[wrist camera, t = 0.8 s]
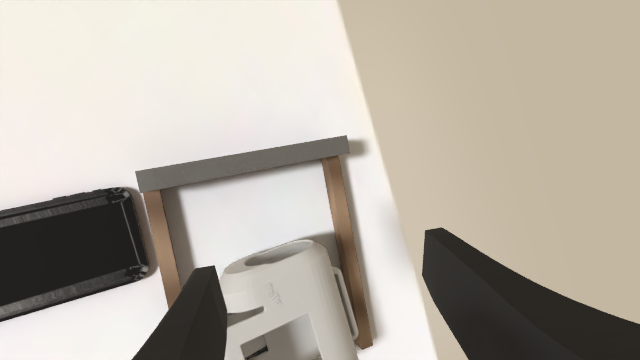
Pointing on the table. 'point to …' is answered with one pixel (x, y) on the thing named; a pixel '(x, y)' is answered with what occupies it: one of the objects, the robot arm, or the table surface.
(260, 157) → the rail channel
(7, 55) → the table surface
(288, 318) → the cable organizer
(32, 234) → the phone
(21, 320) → the table surface
